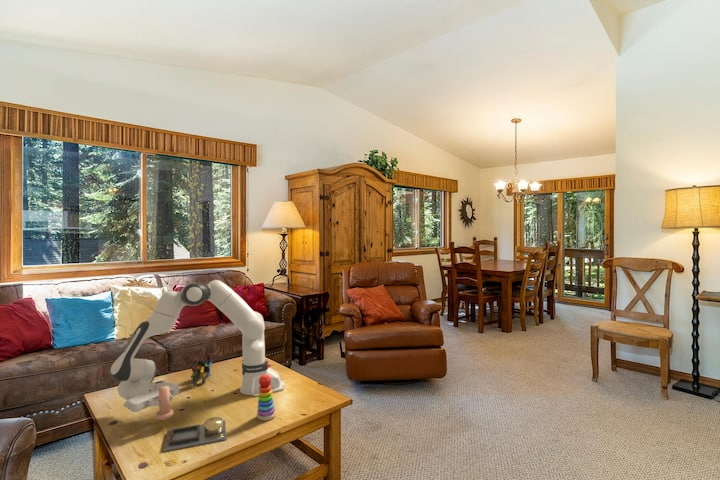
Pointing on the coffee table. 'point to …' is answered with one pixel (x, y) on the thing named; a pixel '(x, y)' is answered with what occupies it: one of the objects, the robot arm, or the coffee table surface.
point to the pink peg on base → (164, 404)
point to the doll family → (201, 371)
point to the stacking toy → (265, 399)
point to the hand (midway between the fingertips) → (165, 400)
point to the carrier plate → (196, 434)
